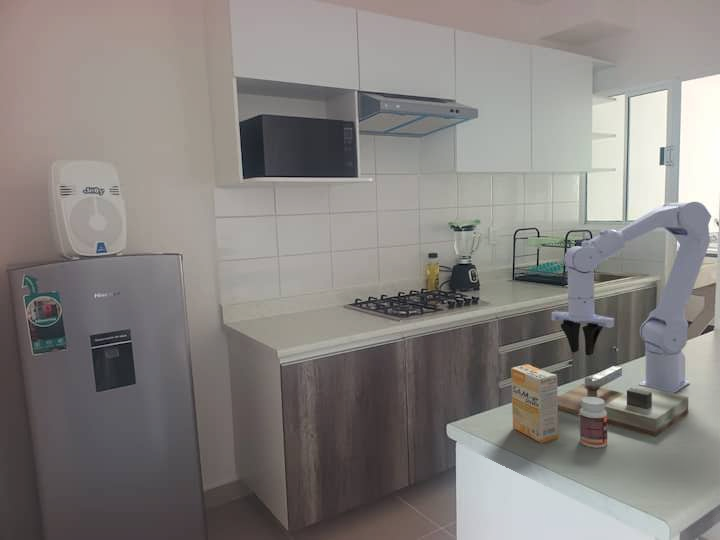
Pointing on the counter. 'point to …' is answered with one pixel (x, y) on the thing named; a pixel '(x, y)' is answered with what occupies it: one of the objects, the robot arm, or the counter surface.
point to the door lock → (632, 407)
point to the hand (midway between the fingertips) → (582, 352)
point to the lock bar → (603, 378)
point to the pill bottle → (593, 422)
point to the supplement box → (535, 402)
